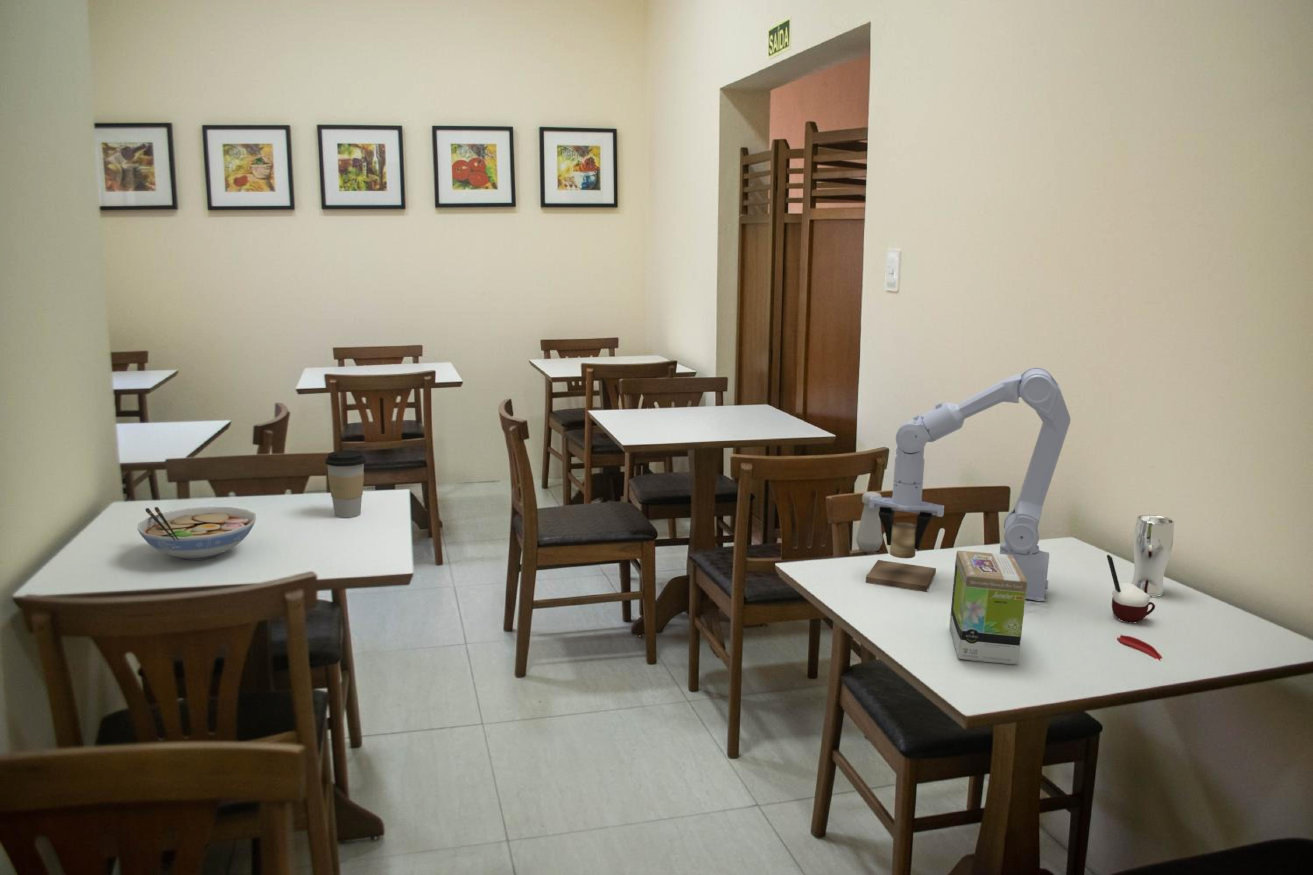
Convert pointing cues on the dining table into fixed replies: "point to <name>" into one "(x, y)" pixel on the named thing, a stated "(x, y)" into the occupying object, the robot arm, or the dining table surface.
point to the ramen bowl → (196, 530)
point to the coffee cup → (346, 481)
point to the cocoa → (1128, 599)
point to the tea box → (987, 607)
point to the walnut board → (901, 575)
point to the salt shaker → (869, 526)
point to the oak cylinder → (903, 540)
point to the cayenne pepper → (1139, 646)
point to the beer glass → (1151, 552)
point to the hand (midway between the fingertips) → (903, 545)
